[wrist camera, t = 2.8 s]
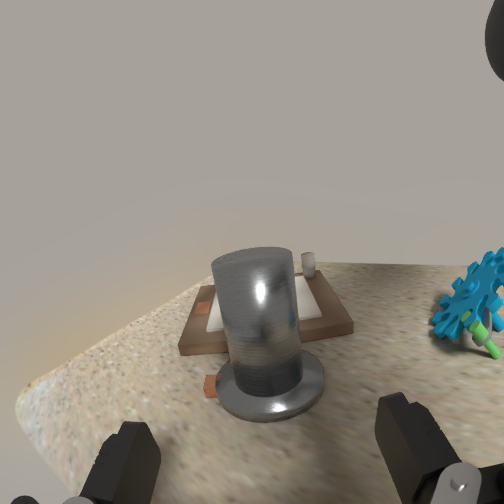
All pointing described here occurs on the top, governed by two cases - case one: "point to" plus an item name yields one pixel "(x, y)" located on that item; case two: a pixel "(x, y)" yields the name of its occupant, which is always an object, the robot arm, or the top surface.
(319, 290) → the mount board
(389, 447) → the robot arm
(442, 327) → the gear
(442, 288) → the top surface
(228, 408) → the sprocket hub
